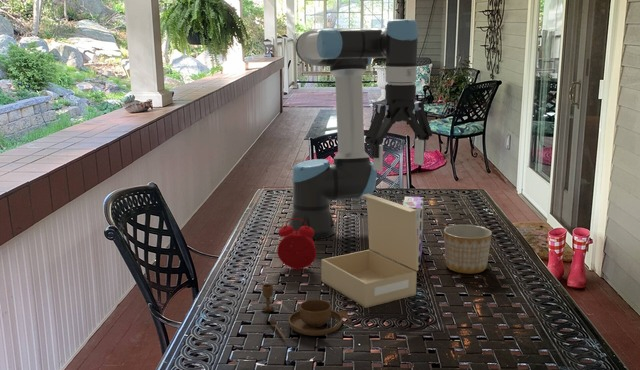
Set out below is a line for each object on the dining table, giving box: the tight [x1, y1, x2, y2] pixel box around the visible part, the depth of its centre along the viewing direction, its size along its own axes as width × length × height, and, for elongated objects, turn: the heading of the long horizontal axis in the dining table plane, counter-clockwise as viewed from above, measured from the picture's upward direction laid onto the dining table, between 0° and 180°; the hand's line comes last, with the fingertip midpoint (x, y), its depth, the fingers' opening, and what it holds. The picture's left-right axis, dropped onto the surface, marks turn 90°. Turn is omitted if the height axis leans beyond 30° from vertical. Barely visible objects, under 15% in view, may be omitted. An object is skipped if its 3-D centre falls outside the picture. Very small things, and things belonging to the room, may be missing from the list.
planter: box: [443, 224, 493, 275], centre depth 175 cm, size 13×13×10 cm
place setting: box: [261, 283, 352, 340], centre depth 145 cm, size 18×20×6 cm
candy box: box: [401, 196, 424, 266], centre depth 183 cm, size 14×6×16 cm, turn 168°
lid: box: [362, 194, 419, 272], centre depth 162 cm, size 20×15×2 cm
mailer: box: [320, 249, 418, 309], centre depth 161 cm, size 20×15×6 cm
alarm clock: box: [277, 219, 317, 271], centre depth 173 cm, size 10×6×15 cm, turn 84°
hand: (398, 167), depth 164 cm, fingers open, 13 cm apart
